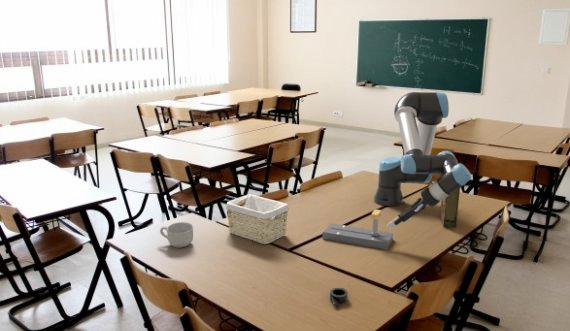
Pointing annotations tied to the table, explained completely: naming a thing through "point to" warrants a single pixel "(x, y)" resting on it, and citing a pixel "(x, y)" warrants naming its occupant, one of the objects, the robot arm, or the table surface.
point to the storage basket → (257, 218)
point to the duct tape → (338, 296)
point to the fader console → (357, 236)
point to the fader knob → (375, 222)
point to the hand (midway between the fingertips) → (389, 227)
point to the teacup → (179, 234)
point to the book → (450, 209)
